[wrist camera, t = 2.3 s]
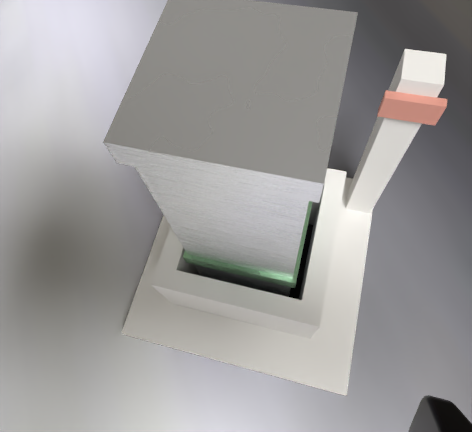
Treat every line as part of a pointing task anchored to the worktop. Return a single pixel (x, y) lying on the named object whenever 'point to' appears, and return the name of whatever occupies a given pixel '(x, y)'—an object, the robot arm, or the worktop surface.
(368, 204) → the stand
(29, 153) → the worktop surface
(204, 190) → the column
